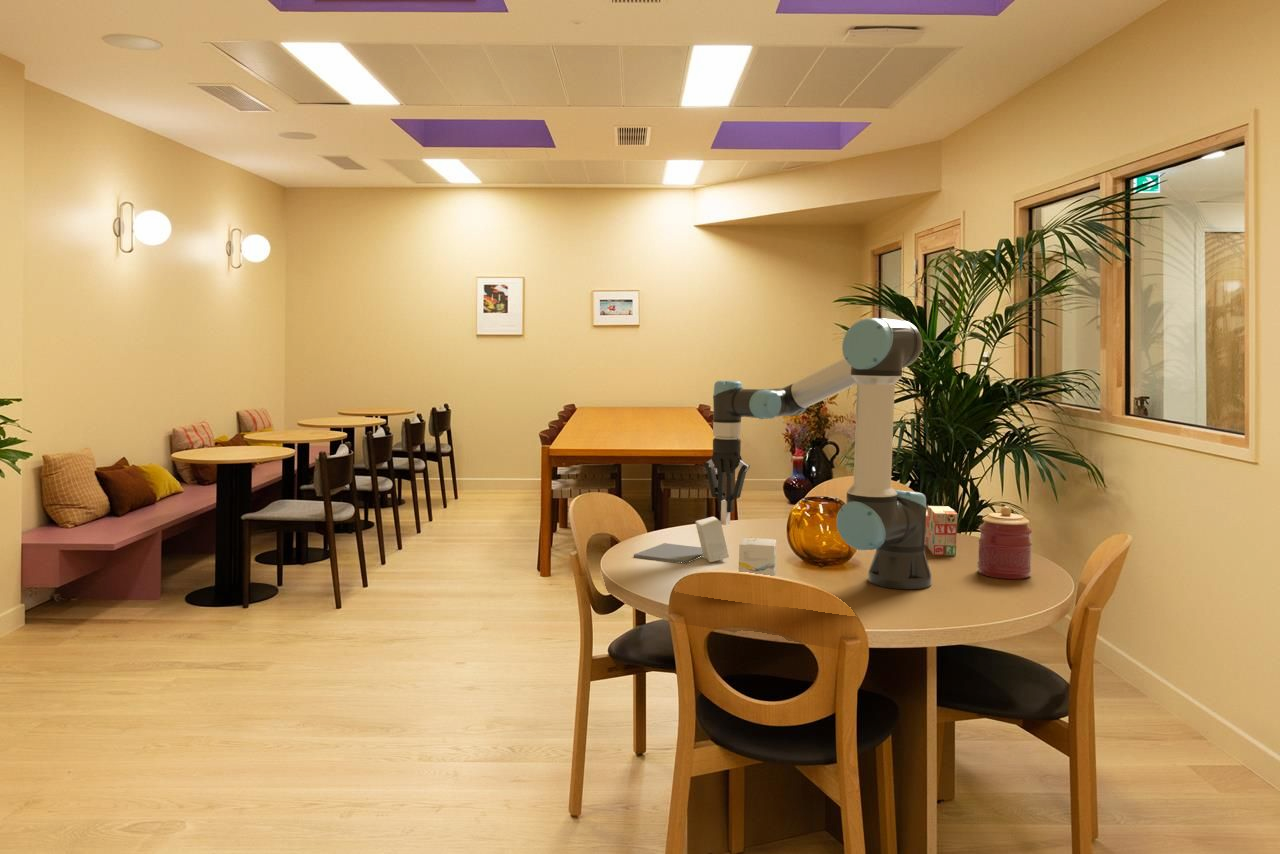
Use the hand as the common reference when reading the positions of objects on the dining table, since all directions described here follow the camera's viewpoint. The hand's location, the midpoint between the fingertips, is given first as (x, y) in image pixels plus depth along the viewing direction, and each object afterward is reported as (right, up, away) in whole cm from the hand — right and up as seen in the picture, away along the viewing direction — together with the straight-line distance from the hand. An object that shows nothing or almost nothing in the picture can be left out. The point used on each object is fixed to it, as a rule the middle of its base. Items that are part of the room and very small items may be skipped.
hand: (725, 523), depth 255 cm
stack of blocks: (+64, -9, +20) cm, 68 cm away
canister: (+71, -12, -13) cm, 73 cm away
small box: (-2, -10, +2) cm, 10 cm away
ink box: (+5, -13, -30) cm, 33 cm away
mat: (-14, -10, +8) cm, 19 cm away
